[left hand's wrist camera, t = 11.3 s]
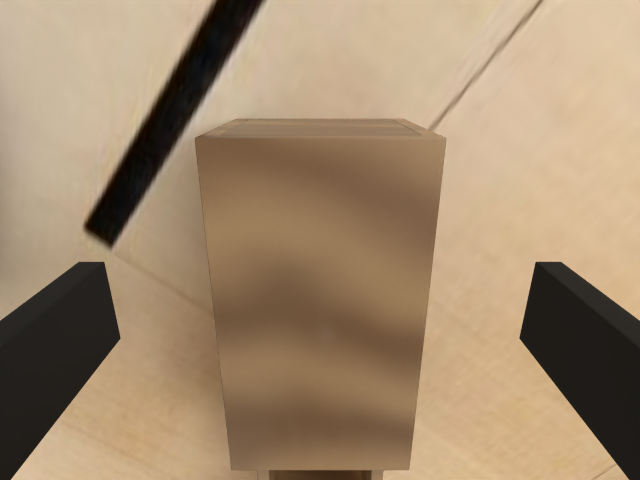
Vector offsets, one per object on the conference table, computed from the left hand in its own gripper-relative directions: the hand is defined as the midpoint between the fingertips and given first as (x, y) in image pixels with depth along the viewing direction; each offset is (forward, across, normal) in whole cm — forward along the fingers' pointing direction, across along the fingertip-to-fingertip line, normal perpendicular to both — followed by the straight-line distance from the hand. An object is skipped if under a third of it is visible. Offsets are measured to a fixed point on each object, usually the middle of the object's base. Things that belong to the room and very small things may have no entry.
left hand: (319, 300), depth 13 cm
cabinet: (+17, 0, -6) cm, 18 cm away
